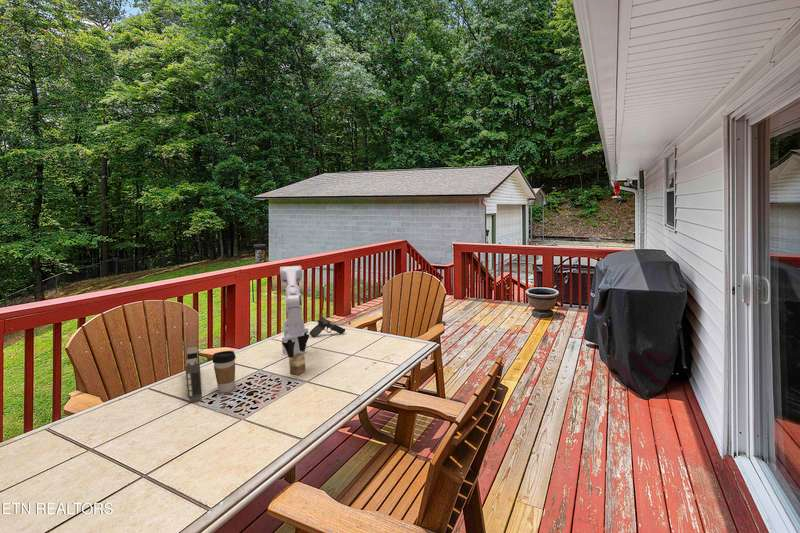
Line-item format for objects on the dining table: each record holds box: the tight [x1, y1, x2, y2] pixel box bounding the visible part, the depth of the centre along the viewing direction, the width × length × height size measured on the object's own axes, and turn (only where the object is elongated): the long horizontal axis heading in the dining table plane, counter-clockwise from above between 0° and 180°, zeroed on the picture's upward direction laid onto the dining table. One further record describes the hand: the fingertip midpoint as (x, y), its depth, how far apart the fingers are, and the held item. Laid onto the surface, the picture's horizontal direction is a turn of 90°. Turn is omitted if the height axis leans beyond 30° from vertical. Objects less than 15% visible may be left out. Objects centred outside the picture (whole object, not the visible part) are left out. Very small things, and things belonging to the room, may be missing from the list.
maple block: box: [288, 353, 306, 367], centre depth 173 cm, size 4×4×4 cm
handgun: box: [308, 316, 346, 338], centre depth 228 cm, size 17×2×12 cm
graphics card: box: [184, 346, 203, 403], centre depth 164 cm, size 33×5×14 cm, turn 27°
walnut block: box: [289, 362, 306, 377], centre depth 173 cm, size 4×4×4 cm
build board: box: [287, 370, 309, 378], centre depth 175 cm, size 14×11×1 cm
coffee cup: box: [211, 350, 236, 394], centre depth 159 cm, size 8×8×15 cm
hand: (296, 354), depth 172 cm, fingers open, 7 cm apart
